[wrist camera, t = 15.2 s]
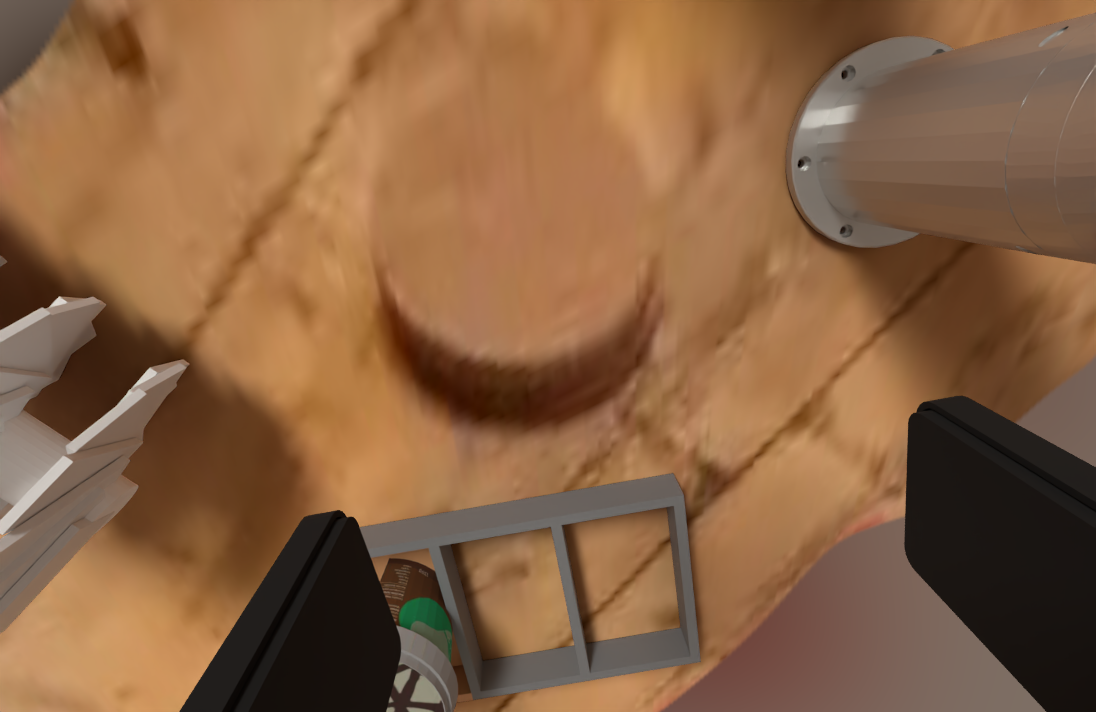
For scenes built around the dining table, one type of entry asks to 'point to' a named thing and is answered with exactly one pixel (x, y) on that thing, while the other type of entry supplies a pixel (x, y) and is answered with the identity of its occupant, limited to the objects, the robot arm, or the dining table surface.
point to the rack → (583, 661)
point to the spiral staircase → (60, 451)
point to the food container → (420, 639)
